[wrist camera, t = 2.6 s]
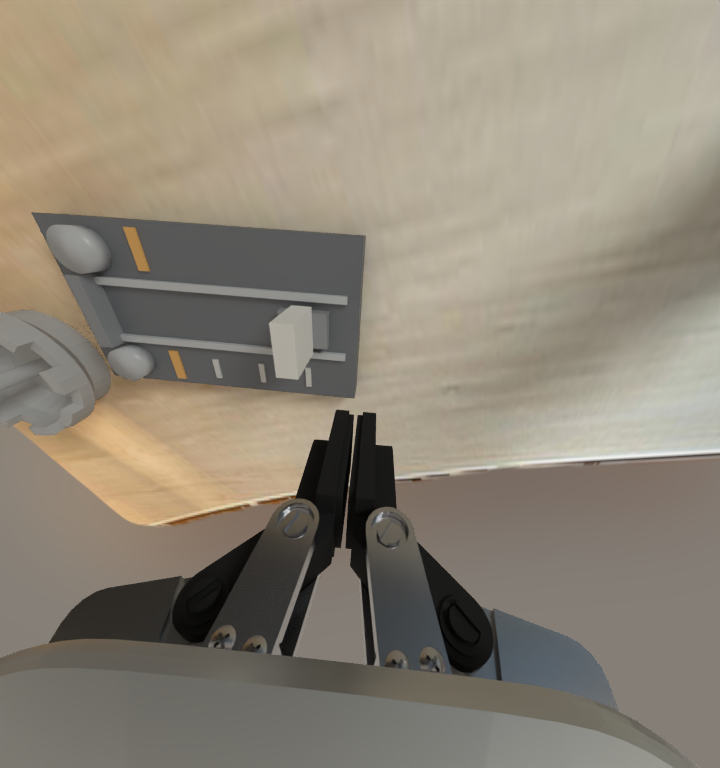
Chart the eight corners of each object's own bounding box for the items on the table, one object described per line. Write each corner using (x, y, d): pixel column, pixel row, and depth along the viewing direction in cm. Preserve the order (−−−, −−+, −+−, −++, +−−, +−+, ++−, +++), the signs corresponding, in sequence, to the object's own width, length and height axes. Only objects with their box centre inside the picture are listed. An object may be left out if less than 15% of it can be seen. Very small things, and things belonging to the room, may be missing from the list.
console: (365, 235, 20) (362, 236, 17) (356, 387, 27) (352, 407, 24) (60, 213, 21) (5, 210, 18) (131, 366, 28) (101, 382, 25)
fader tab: (329, 304, 21) (312, 326, 16) (329, 350, 23) (314, 381, 18) (280, 301, 21) (250, 321, 16) (285, 346, 23) (259, 376, 18)
